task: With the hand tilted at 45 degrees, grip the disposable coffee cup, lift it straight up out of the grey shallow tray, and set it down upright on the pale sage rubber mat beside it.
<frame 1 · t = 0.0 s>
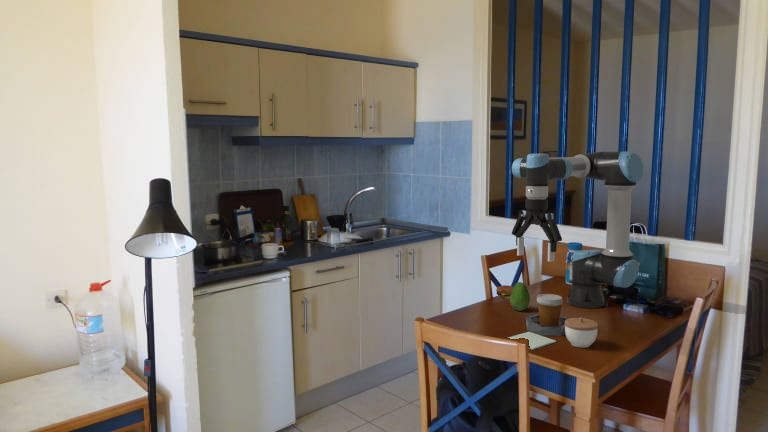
hand: (535, 258, 195), 28 cm above the table, tool pointing down, fingers open, 13 cm apart
burger: (507, 297, 250), on the table
sage mat: (530, 340, 192), on the table
beverage bottle: (573, 283, 272), on the table
lidded jar: (580, 345, 188), on the table
grey shallow tray: (549, 328, 205), on the table
avocado: (519, 310, 228), on the table
disposable coffee cup: (549, 328, 205), resting in grey shallow tray
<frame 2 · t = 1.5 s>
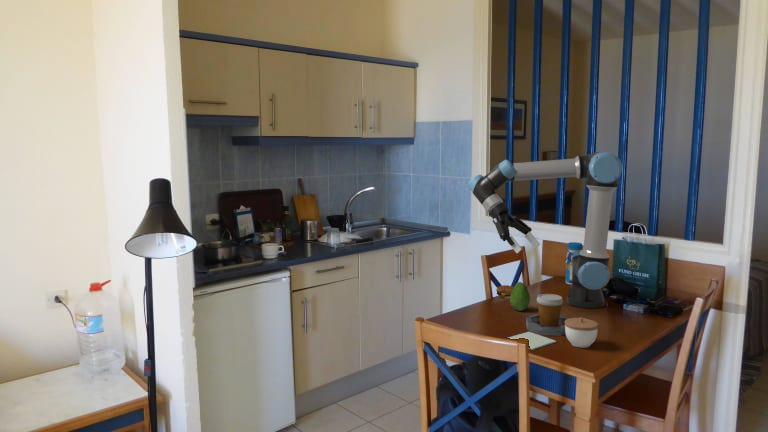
hand: (528, 248, 215), 28 cm above the table, tool tilted 45°, fingers open, 13 cm apart
nothing on the table moved.
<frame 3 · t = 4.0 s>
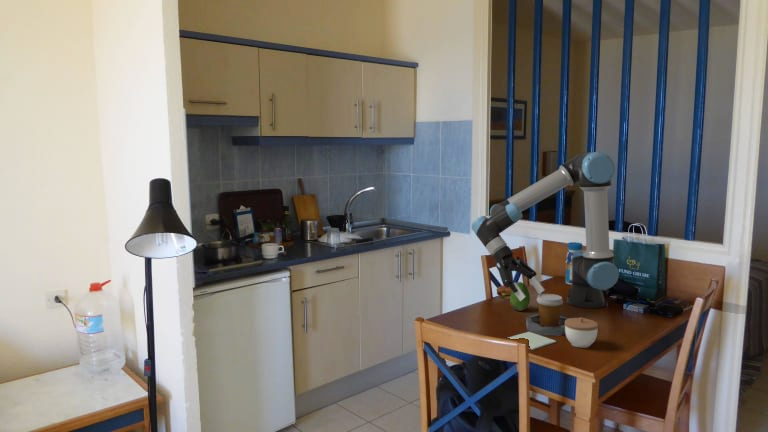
hand: (532, 295, 208), 11 cm above the table, tool tilted 45°, fingers open, 13 cm apart
nothing on the table moved.
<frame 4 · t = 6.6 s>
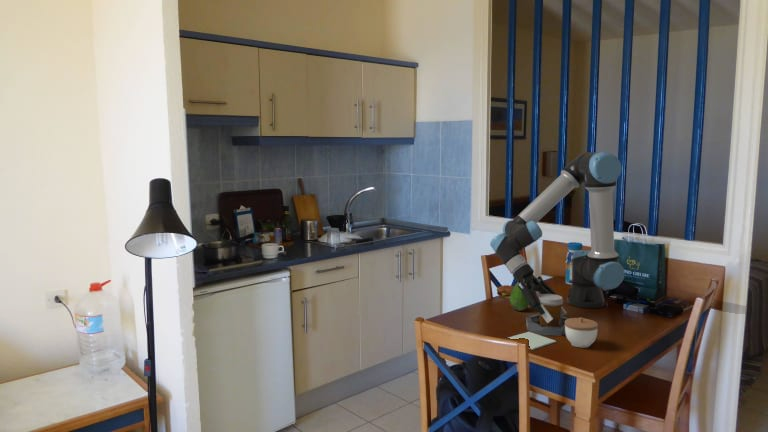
hand: (557, 317, 202), 5 cm above the table, tool tilted 45°, fingers closed on disposable coffee cup, 9 cm apart
disposable coffee cup: (549, 328, 205), resting in grey shallow tray, touching gripper
everything else where it was.
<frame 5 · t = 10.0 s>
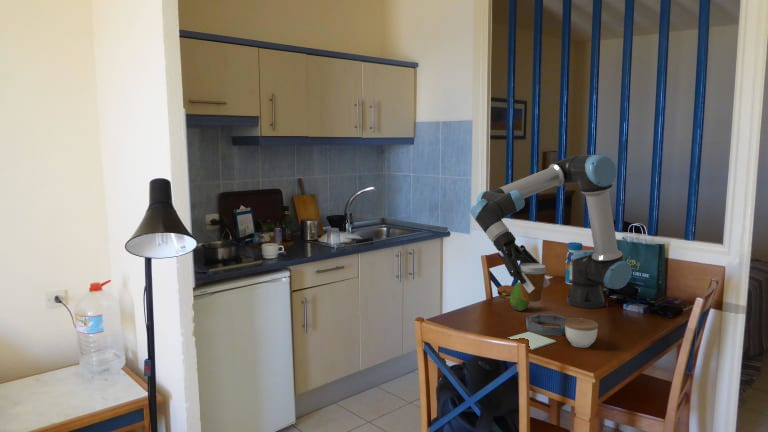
hand: (539, 288, 188), 19 cm above the table, tool tilted 45°, fingers closed on disposable coffee cup, 9 cm apart
disposable coffee cup: (531, 300, 191), point 14 cm above the table, touching gripper
everything else where it was.
when the fingers open (7 cm above the table, at t = 13.6 s): disposable coffee cup drops 1 cm, resting on sage mat.
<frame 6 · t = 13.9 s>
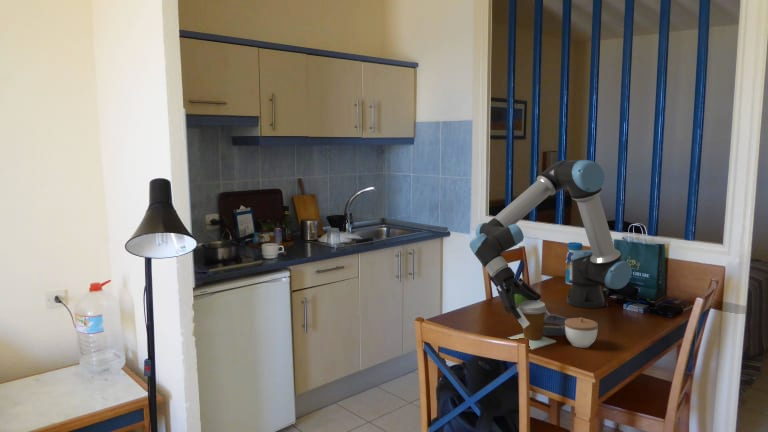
hand: (537, 321, 190), 7 cm above the table, tool tilted 45°, fingers open, 13 cm apart
disposable coffee cup: (533, 337, 194), resting on sage mat
everything else where it was.
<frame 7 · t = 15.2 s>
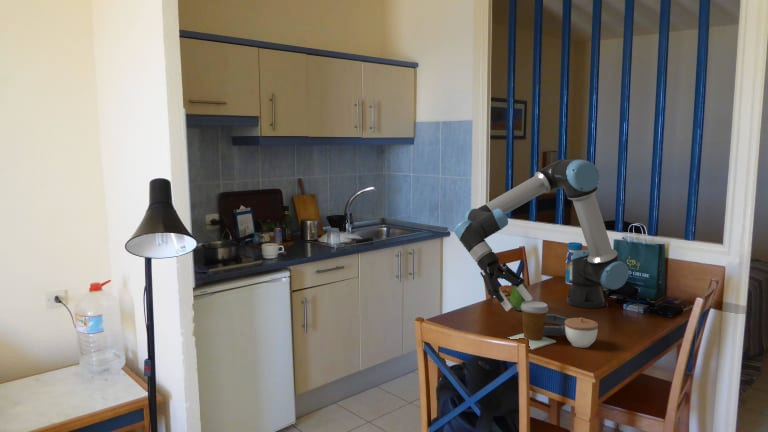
hand: (520, 305, 193), 12 cm above the table, tool tilted 45°, fingers open, 13 cm apart
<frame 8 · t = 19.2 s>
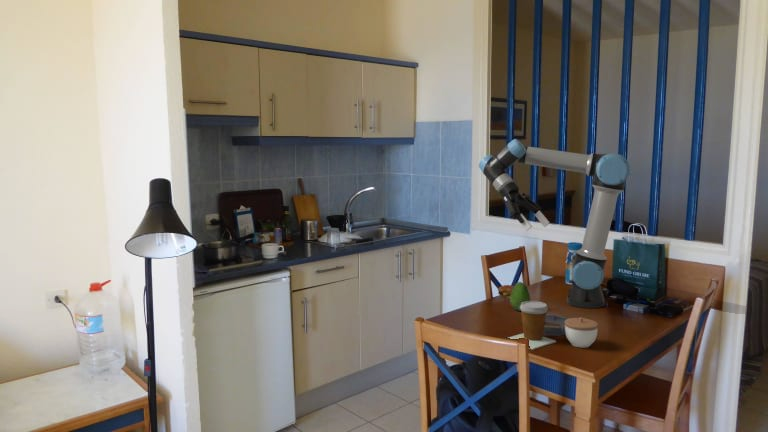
hand: (538, 226, 217), 36 cm above the table, tool tilted 45°, fingers open, 13 cm apart
at the end: disposable coffee cup inside the target area on the sage mat (2.3 cm from its centre), point 0.3 cm above the sage mat's base; disposable coffee cup tilted 0°; the gripper is holding nothing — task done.
